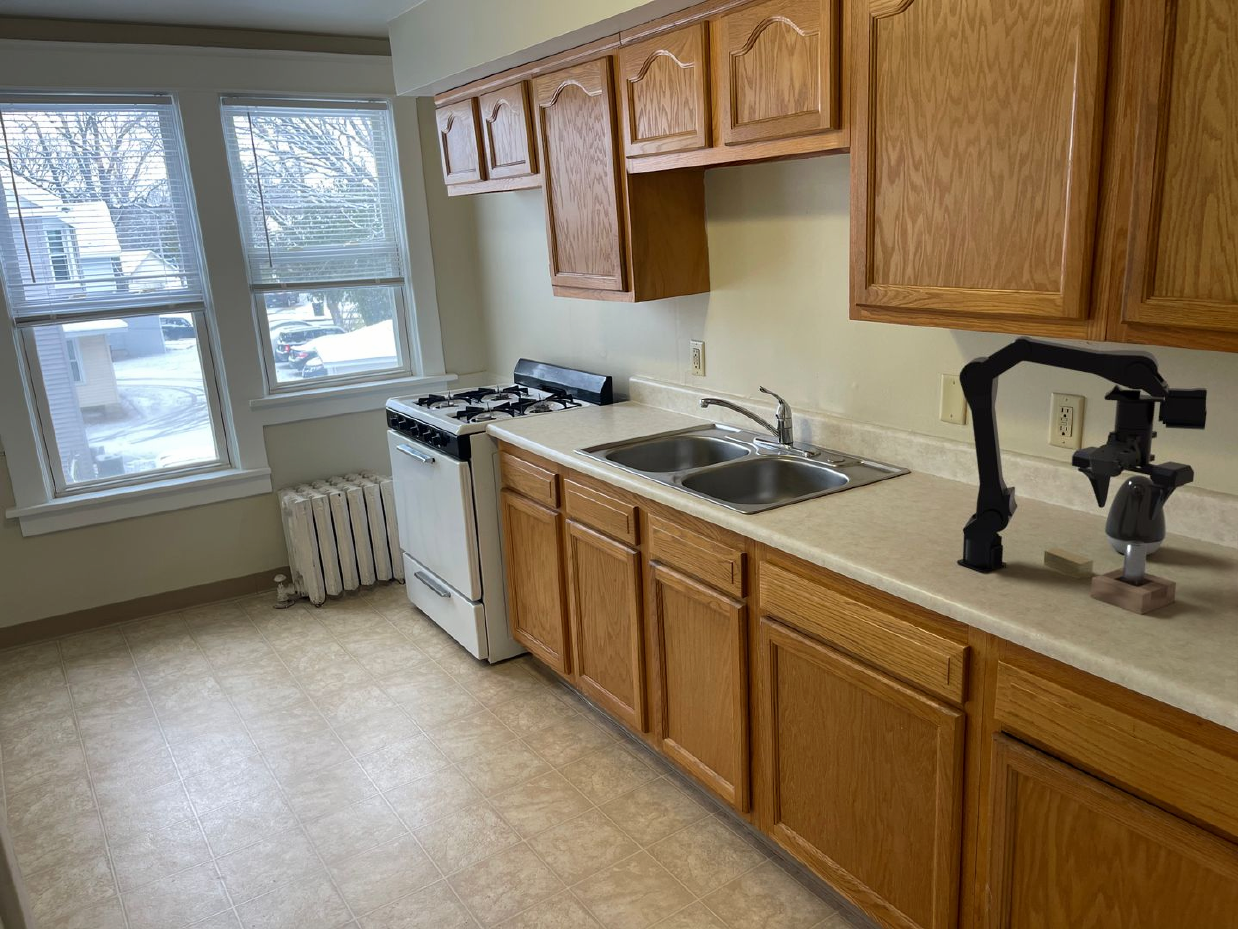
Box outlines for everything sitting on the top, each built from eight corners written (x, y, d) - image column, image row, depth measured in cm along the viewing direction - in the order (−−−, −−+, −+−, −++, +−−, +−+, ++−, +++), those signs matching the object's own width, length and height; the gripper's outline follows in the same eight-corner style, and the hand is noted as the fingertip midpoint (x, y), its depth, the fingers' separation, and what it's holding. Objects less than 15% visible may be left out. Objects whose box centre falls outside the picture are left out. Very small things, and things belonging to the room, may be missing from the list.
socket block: (1090, 597, 158) (1092, 578, 157) (1123, 585, 162) (1125, 566, 161) (1141, 614, 150) (1142, 594, 149) (1174, 601, 154) (1176, 582, 153)
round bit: (1116, 598, 157) (1121, 543, 154) (1128, 594, 158) (1133, 539, 156) (1134, 604, 154) (1139, 548, 152) (1146, 600, 155) (1151, 544, 153)
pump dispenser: (1099, 556, 176) (1106, 480, 172) (1106, 539, 184) (1112, 466, 180) (1161, 564, 170) (1169, 486, 166) (1165, 547, 178) (1173, 471, 175)
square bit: (1043, 566, 173) (1044, 550, 172) (1056, 563, 174) (1057, 547, 173) (1078, 580, 166) (1079, 563, 165) (1091, 577, 167) (1093, 560, 166)
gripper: (1053, 424, 160) (1048, 509, 164) (1158, 443, 144) (1149, 536, 148) (1094, 415, 165) (1088, 498, 169) (1200, 432, 149) (1190, 523, 153)
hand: (1126, 513), depth 160 cm, fingers open, 9 cm apart
